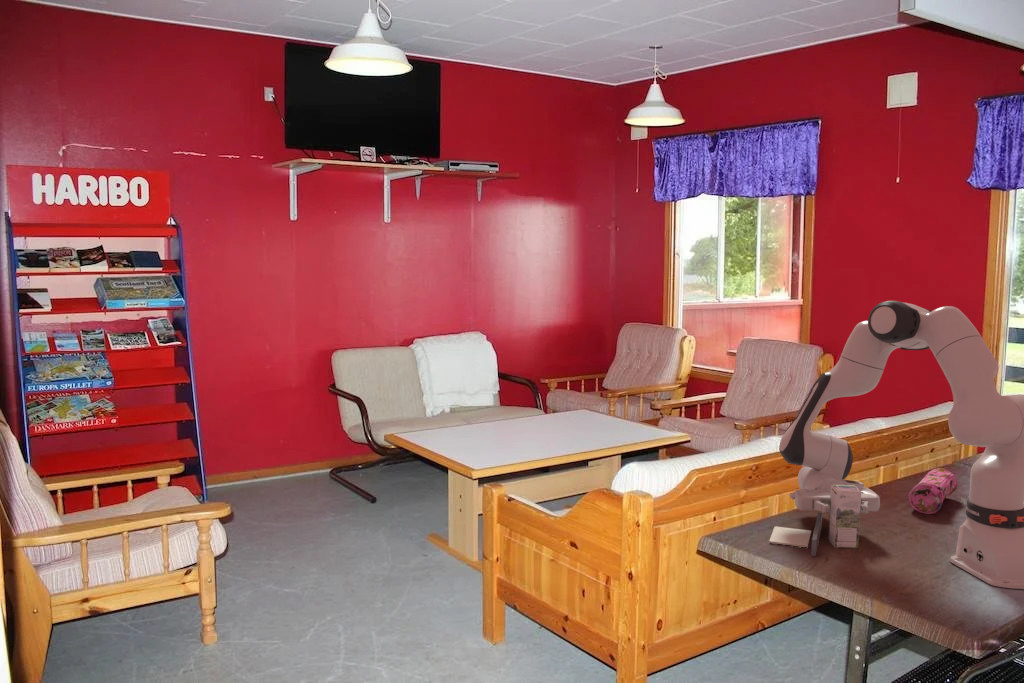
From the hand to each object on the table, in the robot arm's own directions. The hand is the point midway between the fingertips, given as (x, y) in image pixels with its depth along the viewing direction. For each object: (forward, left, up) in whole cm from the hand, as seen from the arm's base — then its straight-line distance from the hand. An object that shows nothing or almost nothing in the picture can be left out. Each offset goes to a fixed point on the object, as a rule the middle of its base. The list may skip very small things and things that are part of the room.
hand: (846, 510), depth 210 cm
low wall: (+3, +6, -9) cm, 11 cm away
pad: (+5, +12, -9) cm, 16 cm away
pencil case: (+35, -36, -9) cm, 51 cm away
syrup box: (+1, 0, -9) cm, 9 cm away
